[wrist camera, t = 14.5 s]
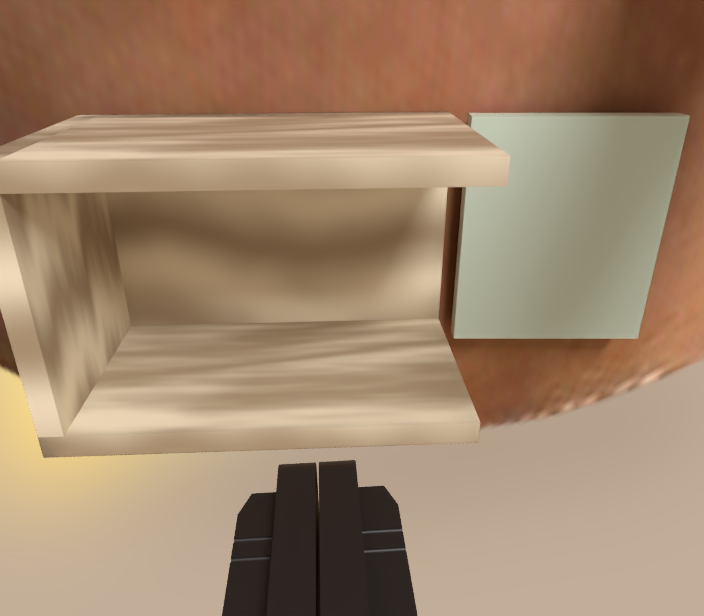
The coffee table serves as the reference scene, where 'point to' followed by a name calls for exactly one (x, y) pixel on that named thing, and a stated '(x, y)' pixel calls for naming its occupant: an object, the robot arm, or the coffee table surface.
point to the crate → (236, 280)
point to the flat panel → (565, 225)
